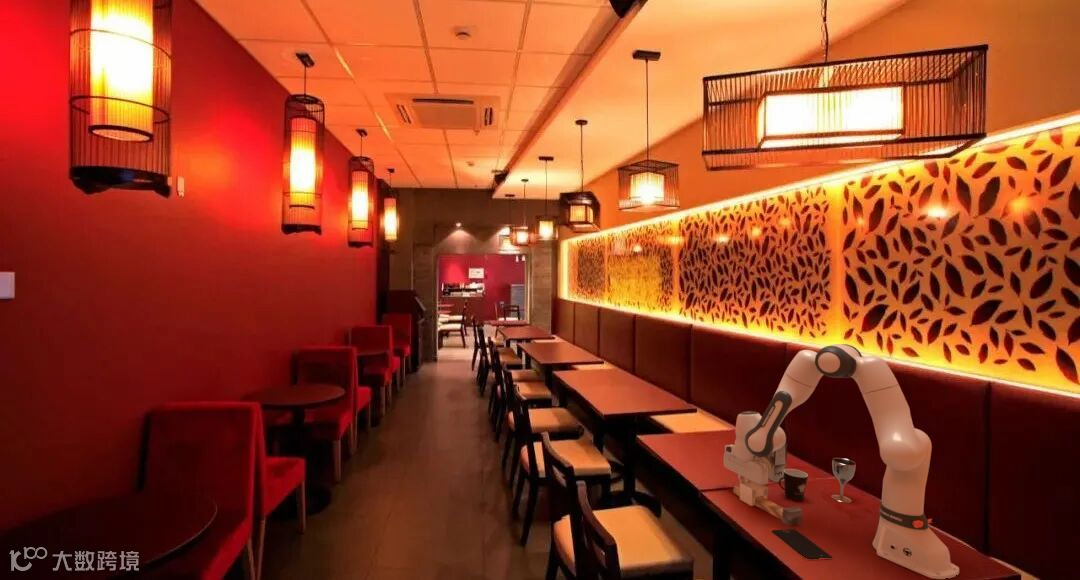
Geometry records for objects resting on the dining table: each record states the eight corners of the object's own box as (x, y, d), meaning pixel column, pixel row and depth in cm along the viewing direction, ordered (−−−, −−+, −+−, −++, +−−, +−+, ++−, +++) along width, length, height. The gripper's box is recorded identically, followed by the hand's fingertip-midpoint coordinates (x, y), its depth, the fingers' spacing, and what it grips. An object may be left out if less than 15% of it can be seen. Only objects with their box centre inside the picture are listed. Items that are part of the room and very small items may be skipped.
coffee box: (786, 481, 224) (788, 444, 224) (773, 482, 222) (776, 444, 222) (770, 473, 233) (773, 437, 233) (758, 474, 231) (761, 438, 231)
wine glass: (833, 501, 206) (836, 463, 205) (827, 493, 214) (829, 456, 213) (855, 504, 204) (858, 466, 204) (849, 496, 212) (851, 459, 211)
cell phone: (794, 531, 180) (795, 528, 180) (832, 560, 162) (833, 557, 162) (771, 532, 178) (771, 529, 178) (807, 561, 161) (807, 558, 161)
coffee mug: (801, 494, 211) (802, 469, 211) (809, 503, 202) (811, 478, 202) (771, 491, 212) (772, 467, 212) (778, 500, 204) (780, 475, 203)
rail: (801, 523, 185) (802, 509, 185) (789, 526, 182) (789, 512, 182) (742, 491, 211) (742, 479, 210) (730, 493, 208) (731, 481, 208)
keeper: (767, 503, 200) (768, 487, 200) (751, 506, 197) (752, 489, 197) (754, 496, 206) (755, 481, 205) (739, 499, 203) (740, 483, 202)
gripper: (773, 460, 197) (771, 497, 198) (733, 443, 216) (731, 476, 216) (760, 462, 195) (758, 499, 195) (721, 444, 213) (719, 478, 214)
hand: (744, 487), depth 206 cm, fingers closed
